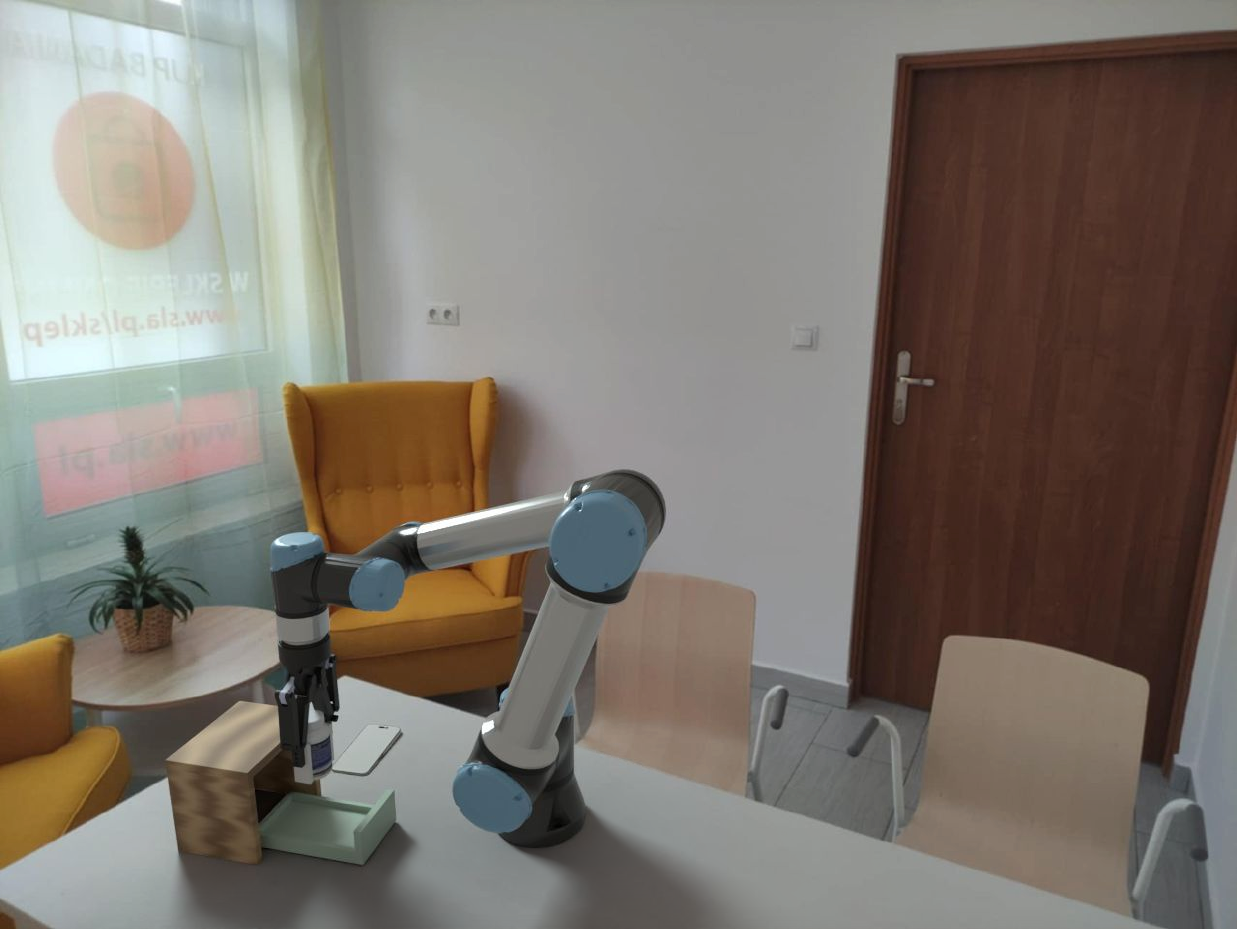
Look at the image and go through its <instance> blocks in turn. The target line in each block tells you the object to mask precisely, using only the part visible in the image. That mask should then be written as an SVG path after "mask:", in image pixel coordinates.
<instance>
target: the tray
mask: <svg viewBox="0 0 1237 929" xmlns="http://www.w3.org/2000/svg"><path fill="white" fill-rule="evenodd" d="M395 794H396V793H395V789H393V788H386V789H385V791H384V792H383V793H382V795H381V796H380V797H379V798H378V800H377V801H376V802H375V804H371V803H365V802H359V801H353V800H345V799H340V798H333V797H328V796H323V795H321V796H316V795H310V794H304V793H298V792H292V791H290V792H289V793H288V794H285V796H284V797H283V798H282V799H280V801H279V802H278V804H277V805H275V807H273V808H272V810H270V812H269V813H268V814H267V815H266V816H265V817H264V818H263V819H262V820H260V822H258V825H259V834H260V843H261V848H266V849H270V850H277V851H283V852H288V853H292V854H293V853H295V854H300V855H306V856H309V857H310V856H311V857H316V858H322V859H327V860H334V861H338V862H343V863H344V862H345V863H350V864H354V865H361V866H364V865H365V863H366V862H367V861H368V859H369V858H370V856H371V855H372V854H373V852H375V850H376V849H377V847H378V846H379V844H380V843H381V842H382V841H383V839H384V837H385V836H386V835H387V834H388V832H389V831H390V829H391V828H392V827H393V826H394V824H395V823H396V822H397V810H396V809H397V808H396V807H397V806H396V796H395Z"/></svg>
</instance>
